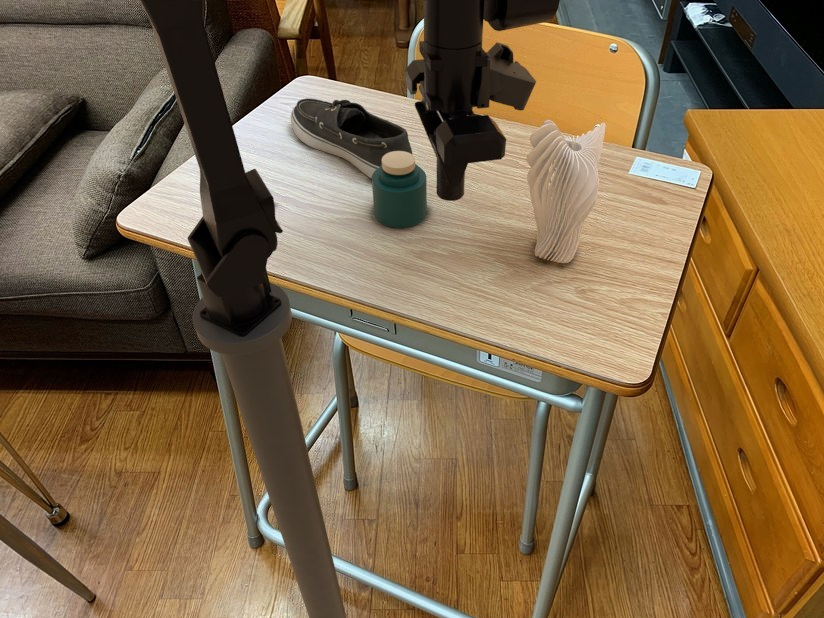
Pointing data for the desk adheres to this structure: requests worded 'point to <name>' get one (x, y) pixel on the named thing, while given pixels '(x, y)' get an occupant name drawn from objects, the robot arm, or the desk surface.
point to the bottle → (399, 191)
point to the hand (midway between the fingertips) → (450, 178)
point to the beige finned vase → (563, 187)
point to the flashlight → (442, 184)
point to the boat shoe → (348, 132)
